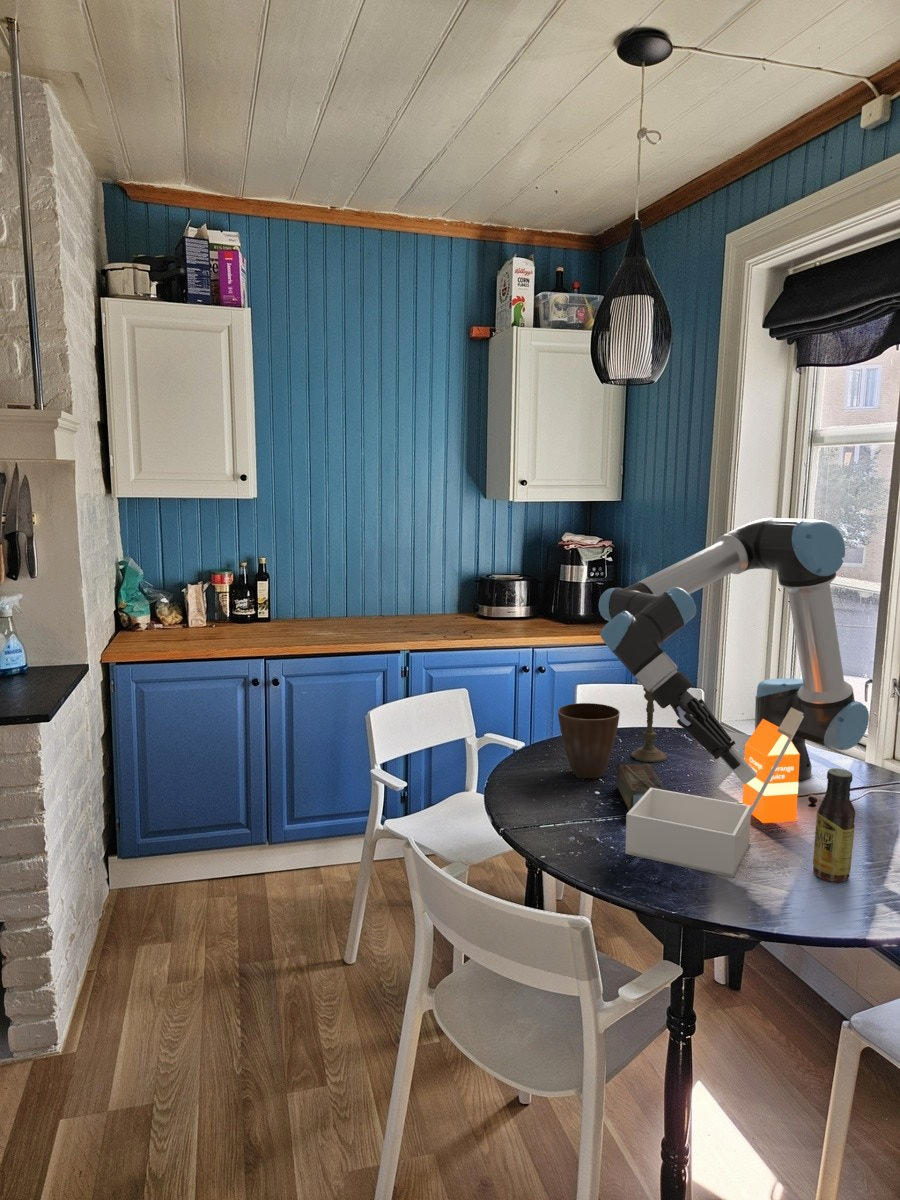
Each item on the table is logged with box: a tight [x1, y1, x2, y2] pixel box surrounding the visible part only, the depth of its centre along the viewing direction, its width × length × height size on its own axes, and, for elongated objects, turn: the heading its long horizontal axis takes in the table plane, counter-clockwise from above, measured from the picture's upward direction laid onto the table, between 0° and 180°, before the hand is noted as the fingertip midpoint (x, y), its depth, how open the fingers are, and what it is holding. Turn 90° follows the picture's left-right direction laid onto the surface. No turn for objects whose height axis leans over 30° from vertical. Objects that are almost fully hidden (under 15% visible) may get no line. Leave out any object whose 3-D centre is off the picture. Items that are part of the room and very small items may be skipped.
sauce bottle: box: [812, 767, 856, 883], centre depth 146 cm, size 7×6×20 cm
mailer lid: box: [737, 707, 804, 837], centre depth 150 cm, size 21×17×3 cm
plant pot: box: [557, 702, 621, 780], centre depth 200 cm, size 15×15×16 cm
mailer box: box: [624, 788, 752, 879], centre depth 159 cm, size 20×16×8 cm
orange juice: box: [742, 719, 800, 824], centre depth 175 cm, size 8×9×20 cm
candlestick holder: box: [630, 687, 668, 764], centre depth 211 cm, size 9×9×30 cm
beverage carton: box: [616, 762, 666, 812], centre depth 182 cm, size 8×19×7 cm, turn 178°
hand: (750, 779), depth 151 cm, fingers closed
